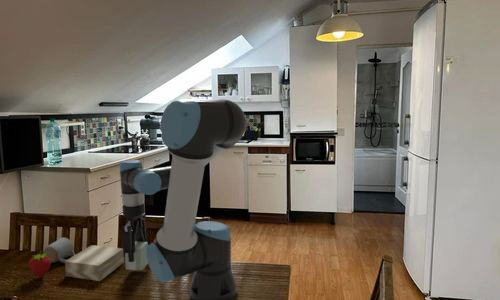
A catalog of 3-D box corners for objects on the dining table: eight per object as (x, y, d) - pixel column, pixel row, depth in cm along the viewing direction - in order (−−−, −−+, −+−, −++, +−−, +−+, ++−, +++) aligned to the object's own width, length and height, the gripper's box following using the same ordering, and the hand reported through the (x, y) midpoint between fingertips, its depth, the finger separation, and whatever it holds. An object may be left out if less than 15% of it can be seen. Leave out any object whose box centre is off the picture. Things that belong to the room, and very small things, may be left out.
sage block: (148, 262, 127) (147, 241, 126) (141, 270, 121) (140, 248, 120) (133, 261, 128) (132, 241, 127) (125, 269, 122) (124, 248, 121)
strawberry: (40, 271, 125) (37, 246, 123) (56, 274, 123) (54, 248, 121) (25, 280, 119) (22, 253, 118) (42, 283, 117) (40, 255, 116)
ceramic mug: (42, 262, 132) (41, 244, 131) (59, 253, 140) (58, 236, 138) (64, 266, 129) (63, 247, 128) (80, 257, 137) (79, 239, 136)
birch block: (123, 263, 132) (123, 248, 131) (100, 281, 119) (98, 265, 118) (92, 259, 135) (91, 245, 135) (66, 277, 122) (64, 261, 121)
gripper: (135, 196, 131) (138, 253, 134) (109, 211, 112) (114, 277, 115) (154, 196, 130) (157, 254, 133) (131, 212, 112) (135, 278, 115)
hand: (137, 264), depth 124 cm, fingers closed on sage block, 6 cm apart
